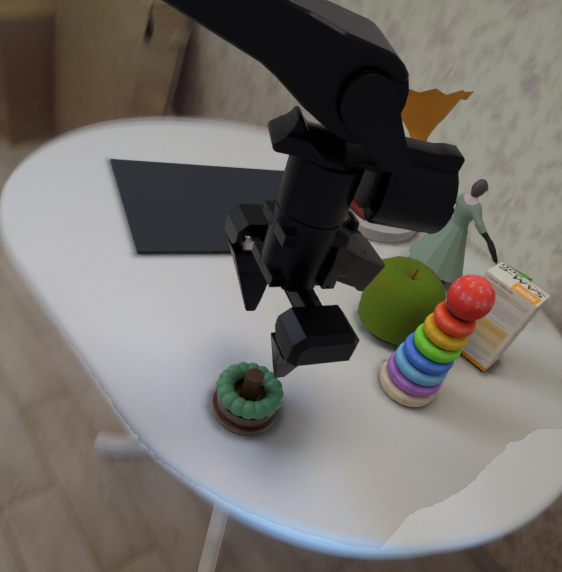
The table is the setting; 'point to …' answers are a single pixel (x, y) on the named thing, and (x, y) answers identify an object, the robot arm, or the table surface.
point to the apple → (400, 299)
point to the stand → (250, 392)
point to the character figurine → (454, 237)
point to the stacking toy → (436, 343)
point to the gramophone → (420, 123)
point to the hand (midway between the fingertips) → (264, 341)
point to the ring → (240, 404)
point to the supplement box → (503, 315)
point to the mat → (187, 203)
